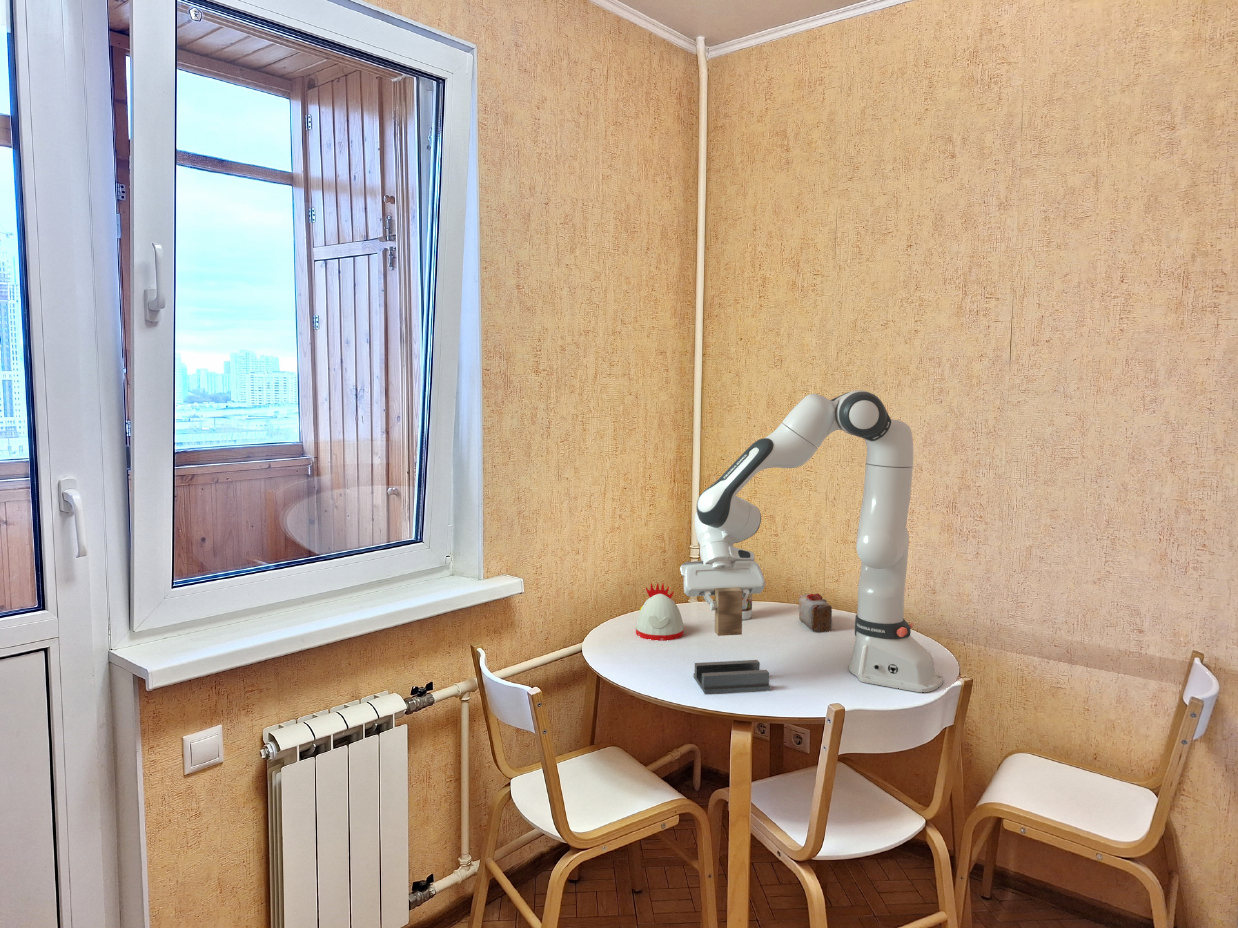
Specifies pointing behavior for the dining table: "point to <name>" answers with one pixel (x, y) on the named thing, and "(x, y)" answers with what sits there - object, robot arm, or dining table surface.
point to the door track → (731, 677)
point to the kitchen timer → (659, 617)
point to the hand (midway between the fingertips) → (729, 608)
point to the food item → (815, 612)
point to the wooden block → (728, 611)
